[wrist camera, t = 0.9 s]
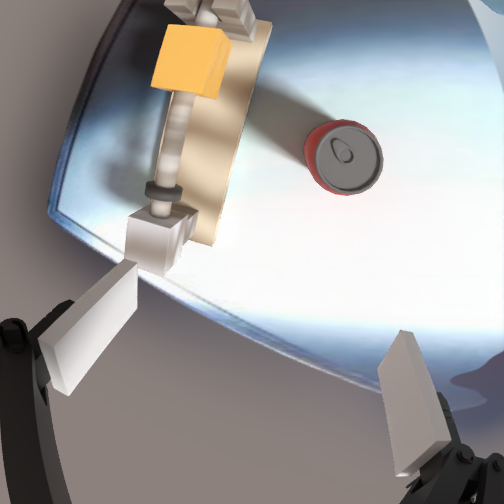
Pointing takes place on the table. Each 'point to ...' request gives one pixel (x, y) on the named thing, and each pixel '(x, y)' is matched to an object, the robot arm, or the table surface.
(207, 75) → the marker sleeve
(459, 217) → the table surface
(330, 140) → the beer can
